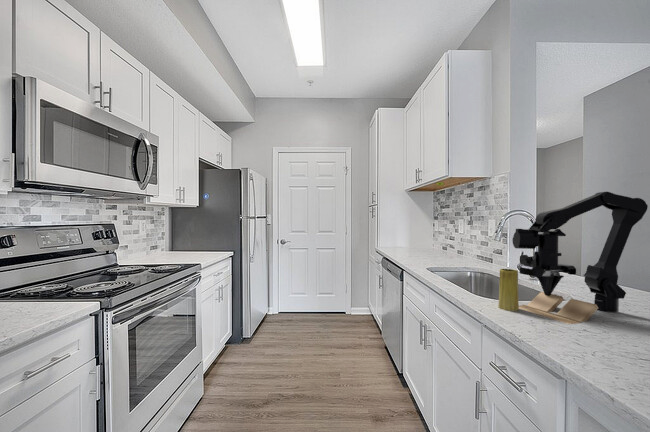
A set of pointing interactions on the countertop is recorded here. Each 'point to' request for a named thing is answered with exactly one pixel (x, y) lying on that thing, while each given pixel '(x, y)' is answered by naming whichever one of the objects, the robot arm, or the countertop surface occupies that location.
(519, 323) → the countertop surface
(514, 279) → the vase
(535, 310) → the laid board
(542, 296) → the plank
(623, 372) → the countertop surface
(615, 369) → the countertop surface
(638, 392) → the countertop surface
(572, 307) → the plank
